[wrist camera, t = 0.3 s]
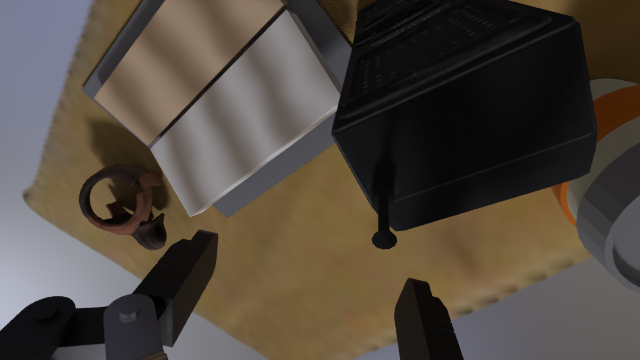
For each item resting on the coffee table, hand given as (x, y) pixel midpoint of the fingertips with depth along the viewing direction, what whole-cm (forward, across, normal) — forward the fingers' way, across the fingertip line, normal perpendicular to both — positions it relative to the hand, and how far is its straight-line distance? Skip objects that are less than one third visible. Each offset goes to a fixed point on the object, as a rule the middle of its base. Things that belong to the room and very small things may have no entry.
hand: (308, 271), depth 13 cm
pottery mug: (+26, +22, +17) cm, 38 cm away
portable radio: (+22, -4, -10) cm, 24 cm away
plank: (+21, +9, +2) cm, 23 cm away
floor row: (+23, +16, -3) cm, 28 cm away
